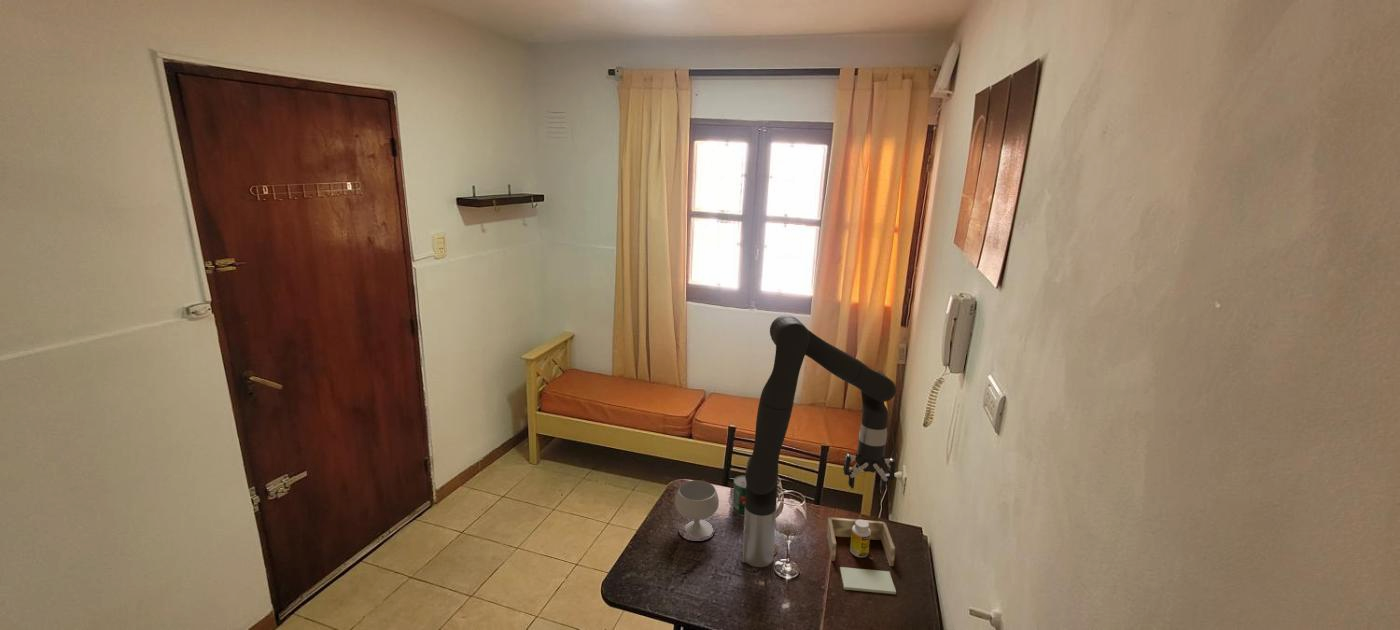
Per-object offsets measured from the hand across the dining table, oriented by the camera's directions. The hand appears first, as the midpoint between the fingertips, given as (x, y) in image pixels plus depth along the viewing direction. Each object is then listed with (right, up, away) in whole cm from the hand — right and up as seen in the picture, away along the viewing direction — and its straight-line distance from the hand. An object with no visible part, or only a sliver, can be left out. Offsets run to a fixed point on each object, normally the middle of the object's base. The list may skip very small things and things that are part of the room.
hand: (866, 488), depth 156 cm
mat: (-2, -24, -7) cm, 25 cm away
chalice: (-51, -19, +14) cm, 56 cm away
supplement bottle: (-1, -22, +5) cm, 22 cm away
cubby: (0, -21, +7) cm, 22 cm away
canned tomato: (-34, -16, +26) cm, 46 cm away
